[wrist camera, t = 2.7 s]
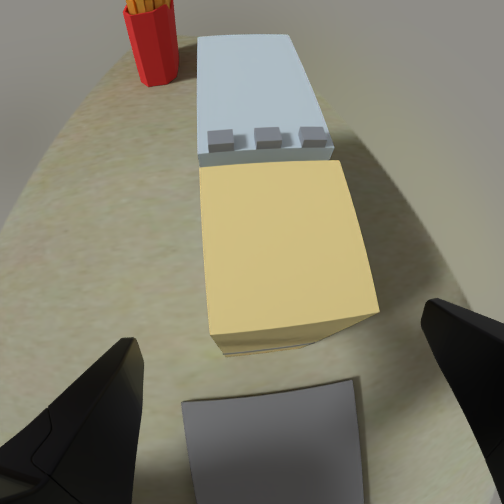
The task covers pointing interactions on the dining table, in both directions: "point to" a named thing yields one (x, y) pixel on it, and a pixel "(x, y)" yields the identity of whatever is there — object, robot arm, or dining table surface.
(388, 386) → the dining table surface
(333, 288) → the block
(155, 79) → the french fries
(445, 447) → the dining table surface
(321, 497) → the mat
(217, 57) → the knobbed pale slab
